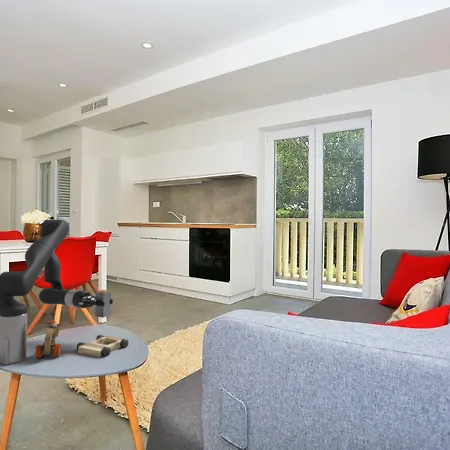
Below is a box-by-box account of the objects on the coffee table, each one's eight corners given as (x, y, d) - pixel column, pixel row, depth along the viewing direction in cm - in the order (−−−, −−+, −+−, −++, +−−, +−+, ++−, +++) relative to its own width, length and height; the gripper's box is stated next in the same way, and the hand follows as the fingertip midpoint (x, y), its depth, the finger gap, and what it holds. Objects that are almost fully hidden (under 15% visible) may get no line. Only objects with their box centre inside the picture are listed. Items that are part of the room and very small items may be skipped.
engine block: (103, 317, 151) (103, 291, 151) (95, 316, 153) (95, 291, 153) (110, 315, 155) (110, 290, 155) (102, 314, 157) (102, 289, 157)
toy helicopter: (34, 361, 132) (35, 324, 132) (45, 343, 152) (46, 311, 152) (58, 359, 135) (58, 323, 135) (66, 342, 154) (66, 310, 155)
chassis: (103, 358, 137) (103, 349, 137) (74, 352, 143) (74, 344, 143) (129, 345, 151) (129, 338, 151) (102, 340, 157) (103, 333, 157)
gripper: (65, 293, 153) (96, 296, 146) (89, 288, 166) (119, 291, 159) (65, 310, 153) (96, 315, 146) (89, 304, 166) (119, 307, 159)
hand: (108, 302), depth 153 cm, fingers closed on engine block, 4 cm apart
